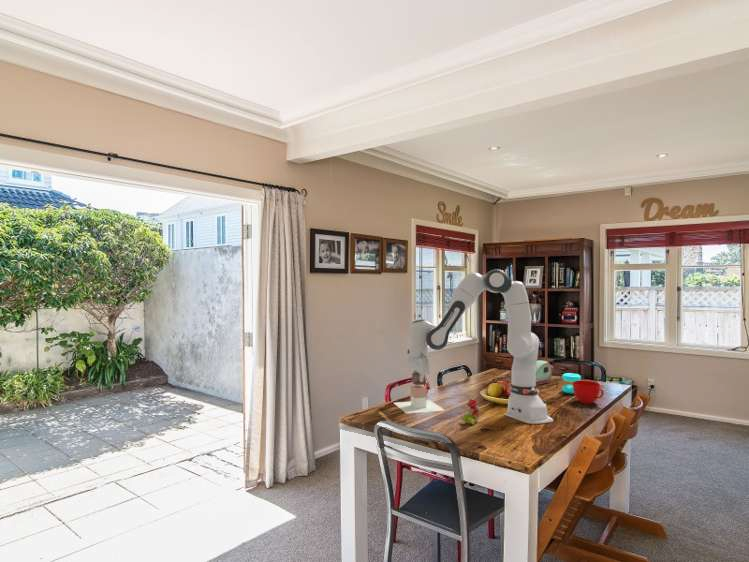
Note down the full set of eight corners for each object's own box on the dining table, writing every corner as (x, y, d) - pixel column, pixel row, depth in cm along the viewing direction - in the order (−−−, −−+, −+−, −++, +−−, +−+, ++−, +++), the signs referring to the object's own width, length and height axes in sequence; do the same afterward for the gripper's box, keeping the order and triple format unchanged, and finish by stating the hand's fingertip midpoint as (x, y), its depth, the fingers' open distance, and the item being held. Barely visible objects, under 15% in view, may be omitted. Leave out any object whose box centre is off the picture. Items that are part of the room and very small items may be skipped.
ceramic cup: (593, 408, 240) (593, 388, 240) (567, 400, 255) (567, 381, 255) (612, 405, 245) (612, 386, 245) (585, 398, 260) (585, 379, 260)
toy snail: (533, 386, 288) (533, 363, 288) (522, 384, 294) (522, 361, 294) (557, 381, 303) (557, 359, 303) (546, 379, 309) (546, 357, 309)
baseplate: (445, 412, 231) (445, 410, 231) (406, 415, 226) (406, 413, 226) (429, 402, 251) (429, 400, 251) (393, 405, 245) (393, 402, 245)
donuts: (558, 374, 275) (567, 372, 281) (558, 391, 275) (567, 389, 281) (575, 377, 267) (584, 374, 273) (575, 395, 267) (584, 392, 274)
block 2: (426, 407, 236) (426, 397, 236) (415, 408, 235) (415, 398, 235) (421, 404, 242) (422, 394, 242) (410, 405, 240) (410, 395, 240)
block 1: (426, 397, 236) (426, 387, 236) (415, 398, 235) (415, 388, 234) (422, 394, 242) (422, 384, 242) (410, 395, 240) (410, 385, 240)
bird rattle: (469, 424, 219) (458, 420, 214) (475, 401, 222) (464, 396, 217) (480, 428, 215) (469, 423, 209) (487, 403, 217) (475, 399, 212)
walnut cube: (425, 384, 236) (425, 374, 236) (415, 385, 235) (415, 374, 235) (421, 382, 241) (421, 372, 241) (412, 382, 240) (412, 372, 240)
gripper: (432, 355, 229) (432, 384, 229) (417, 349, 249) (417, 375, 249) (420, 355, 227) (420, 385, 227) (406, 349, 247) (406, 376, 247)
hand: (418, 380), depth 238 cm, fingers closed on walnut cube, 5 cm apart
